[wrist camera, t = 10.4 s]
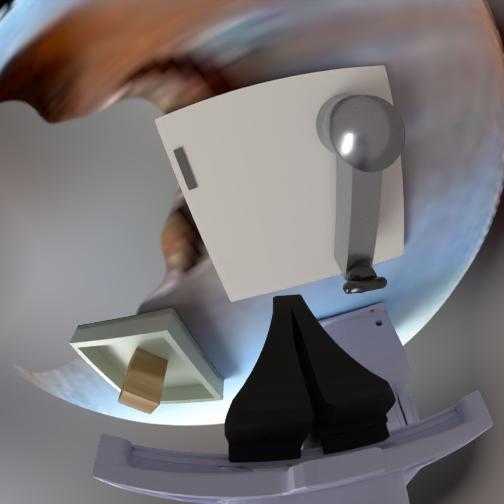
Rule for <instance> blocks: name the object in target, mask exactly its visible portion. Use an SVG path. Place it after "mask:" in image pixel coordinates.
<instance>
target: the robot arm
mask: <svg viewBox="0 0 504 504" xmlns="http://www.w3.org/2000/svg"><path fill="white" fill-rule="evenodd" d="M372 309H373V310H372ZM409 383H410V368H409V363H408V359H407V355H406V353H405V350H404V348H403V346H402V344H401V342H400V339H399V337H398V335H397V333H396V331H395V329H394V327H393V325H392V323H391V321H390V319H389V318H388V316H387V314H386V312H385V305H384V303H378V304H375V305H372V306H369V307H365V308H362V309H359V310H356V311H352V312H349V313H345V314H342V315H339V316H335V317H331V318H328V319H324V320H320V321H318V320H317V319H316V318H315V316H314V315H313V314H312V312H311V311H310V309H309V308H308V306H307V304H306V303H305V301H304V299H303V298H302V296H301V295H300V294H299V295H286V296H275V297H274V298H273V315H272V320H271V324H270V328H269V332H268V335H267V338H266V341H265V344H264V347H263V349H262V351H261V354H260V356H259V358H258V360H257V362H256V364H255V366H254V368H253V370H252V372H251V374H250V375H249V377H248V379H247V380H246V382H245V384H244V385H243V387H242V388H241V389H240V391H239V392H238V394H237V395H236V396H235V398H234V399H233V400H232V403H231V405H230V408H229V410H228V413H227V416H226V419H225V437H226V439H227V441H228V443H229V454H210V453H194V452H181V451H172V450H165V449H157V448H150V447H144V446H139V445H133V444H132V443H131V442H130V441H128V440H127V439H124V438H121V437H117V436H113V435H108V434H104V433H102V434H101V435H100V439H99V444H98V448H97V453H96V458H95V462H94V467H93V473H92V476H93V477H94V478H97V479H99V480H101V481H104V482H106V483H108V484H111V485H113V486H116V487H119V488H122V489H126V490H130V491H134V492H138V493H143V494H147V495H151V496H156V497H161V498H166V499H172V500H179V501H186V502H193V503H203V504H409V499H408V494H407V490H406V485H407V484H408V482H409V481H410V480H411V479H412V478H413V476H414V475H415V474H416V473H417V472H418V471H419V469H420V468H422V467H424V466H426V465H428V464H430V463H432V462H434V461H436V460H438V459H440V458H442V457H444V456H446V455H448V454H450V453H451V452H453V451H455V450H457V449H459V448H461V447H462V446H464V445H466V444H468V443H469V442H470V441H472V440H473V439H475V438H476V437H478V436H479V435H480V434H482V433H483V432H484V431H486V430H487V429H488V428H490V427H491V426H492V425H493V423H492V420H491V418H490V415H489V413H488V410H487V408H486V406H485V404H484V401H483V399H482V397H481V395H480V393H479V391H478V390H477V391H475V392H473V393H471V394H469V395H467V396H465V397H464V398H462V399H461V400H460V401H459V402H458V403H457V404H456V405H455V406H453V407H451V408H449V409H447V410H445V411H442V412H440V413H438V414H435V415H433V416H430V417H428V418H425V419H423V420H419V416H418V414H417V411H416V408H415V405H414V403H413V400H412V398H411V396H410V394H409V393H408V392H407V391H403V390H405V389H407V388H408V386H409ZM395 394H397V397H398V400H397V398H396V395H395ZM398 402H399V403H398ZM399 405H400V406H399ZM400 408H401V409H400ZM302 444H303V446H304V449H303V450H301V447H302ZM282 467H284V468H282ZM269 468H278V469H270V470H261V471H254V470H252V469H269Z"/></svg>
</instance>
